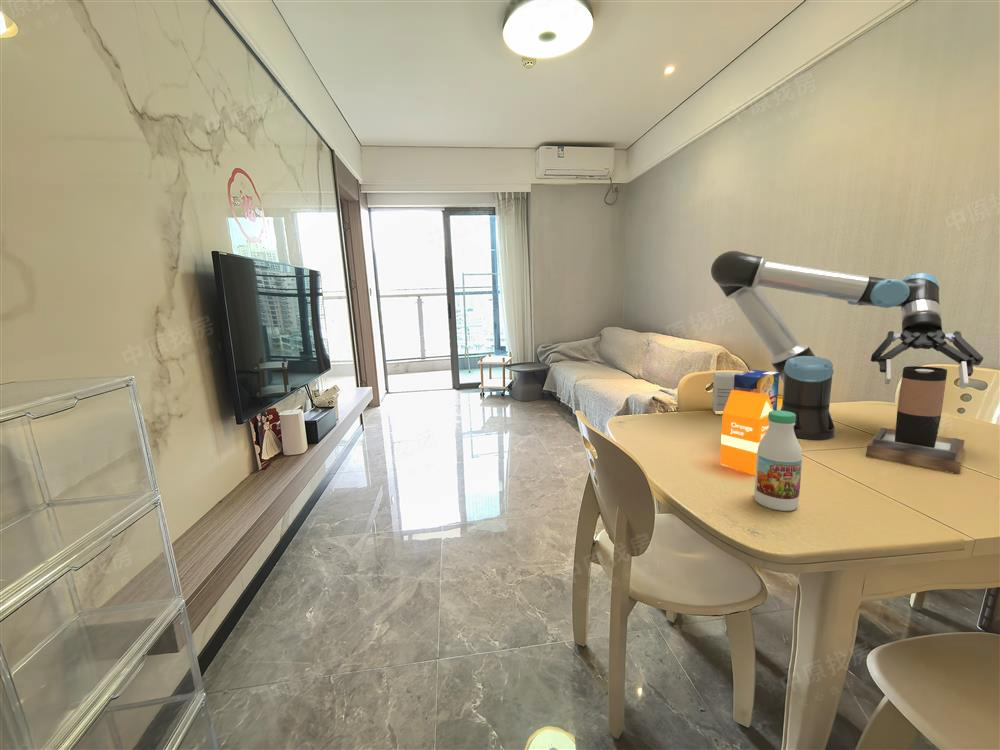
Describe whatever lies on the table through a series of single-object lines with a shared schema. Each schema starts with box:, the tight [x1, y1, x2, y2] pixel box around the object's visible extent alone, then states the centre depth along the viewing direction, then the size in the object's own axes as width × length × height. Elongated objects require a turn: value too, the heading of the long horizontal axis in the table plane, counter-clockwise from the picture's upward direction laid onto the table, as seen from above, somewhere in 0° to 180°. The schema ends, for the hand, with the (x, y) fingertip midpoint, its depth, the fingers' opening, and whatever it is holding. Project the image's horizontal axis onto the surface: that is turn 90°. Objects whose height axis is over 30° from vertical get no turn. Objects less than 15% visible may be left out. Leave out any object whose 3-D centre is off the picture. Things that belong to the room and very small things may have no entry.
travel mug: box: [895, 365, 948, 448], centre depth 98 cm, size 8×8×20 cm
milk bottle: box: [753, 409, 803, 512], centre depth 81 cm, size 8×8×20 cm
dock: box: [865, 426, 966, 475], centre depth 103 cm, size 16×23×5 cm
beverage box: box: [734, 369, 780, 411], centre depth 110 cm, size 7×11×22 cm, turn 123°
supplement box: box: [712, 371, 741, 412], centre depth 145 cm, size 9×9×15 cm
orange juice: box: [719, 390, 773, 476], centre depth 99 cm, size 8×9×20 cm
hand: (924, 383), depth 100 cm, fingers open, 13 cm apart
